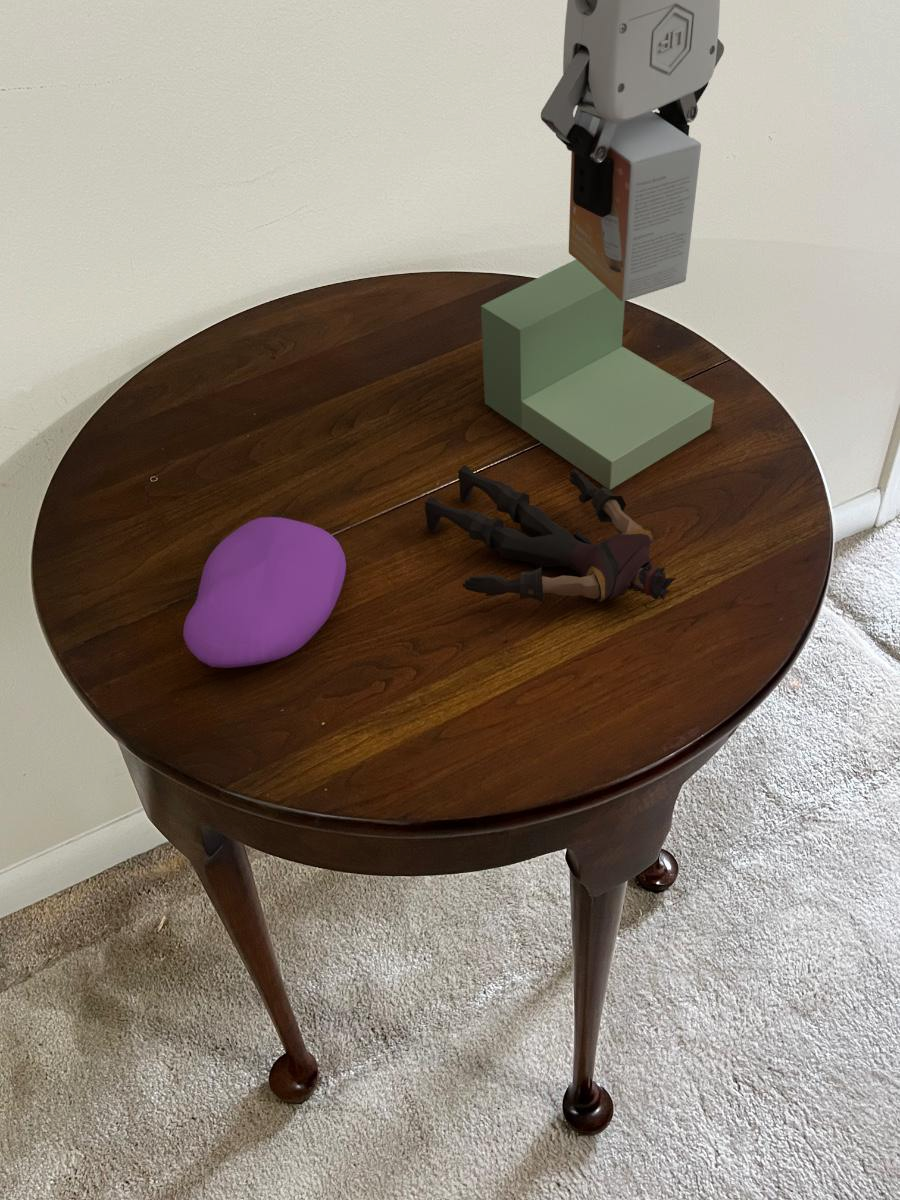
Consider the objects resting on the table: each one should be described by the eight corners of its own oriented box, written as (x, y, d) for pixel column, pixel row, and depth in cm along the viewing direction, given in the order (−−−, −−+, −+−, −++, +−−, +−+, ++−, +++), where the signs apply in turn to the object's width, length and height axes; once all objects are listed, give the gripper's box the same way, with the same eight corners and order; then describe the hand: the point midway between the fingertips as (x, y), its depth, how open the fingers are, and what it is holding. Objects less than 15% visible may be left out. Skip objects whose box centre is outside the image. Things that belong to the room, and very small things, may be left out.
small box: (567, 254, 85) (569, 116, 78) (630, 235, 87) (639, 98, 79) (621, 304, 80) (629, 161, 73) (688, 283, 82) (703, 141, 74)
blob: (245, 711, 78) (231, 664, 74) (142, 641, 83) (124, 594, 79) (381, 590, 85) (374, 543, 82) (279, 533, 90) (268, 486, 87)
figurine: (393, 578, 87) (619, 677, 78) (385, 537, 84) (619, 635, 75) (502, 472, 95) (718, 550, 86) (498, 432, 92) (722, 507, 83)
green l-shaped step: (710, 428, 96) (725, 328, 89) (609, 490, 92) (616, 389, 84) (582, 351, 106) (586, 254, 98) (484, 403, 101) (480, 305, 93)
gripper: (583, -46, 61) (575, 255, 74) (793, -118, 68) (752, 168, 81) (494, -74, 65) (501, 216, 78) (700, -139, 72) (675, 136, 85)
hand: (629, 189), depth 79 cm, fingers closed on small box, 6 cm apart
